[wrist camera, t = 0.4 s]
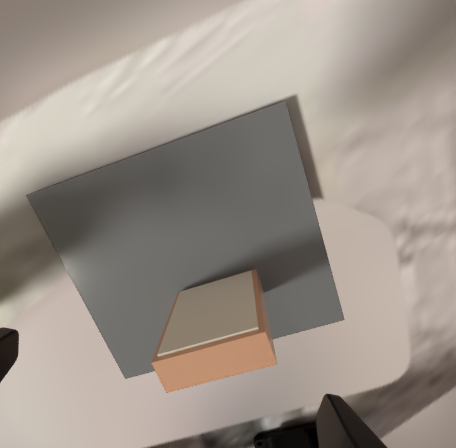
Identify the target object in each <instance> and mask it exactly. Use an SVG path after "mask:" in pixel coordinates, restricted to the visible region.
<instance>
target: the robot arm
mask: <svg viewBox="0 0 456 448" xmlns="http://www.w3.org/2000/svg"><path fill="white" fill-rule="evenodd" d="M18 341H19V334H18V331H17V330H14V329H9V328H0V382H1V381H2V379H3V378H4V377H5V375H6V374H7V373H8V371H9V370H10V368H11V367H12V366H13V365H14V363H15V361H16V359H17V357H18V344H19V343H18ZM254 446H255V448H387V447H386V446H385V445H384V444H383V442H382V441H381V440H380V439H379V438H378V437H377V436H376V435H375V434H374V433H373V432H372V430H371V429H370V428H369V427H368V426H367V425H366V424H365V423H364V422H363V421H362V420H361V418H360V417H359V416H358V415H357V414H356V413H355V412H354V411H353V410H352V409H351V408H350V406H349V405H348V404H347V403H346V402H345V401H344V400H343V399H342V398H341V397H340V396H337V395H332V394H326V395H324V397H323V400H322V402H321V405H320V408H319V410H318V413H317V417H316V422H314V423H310V424H305V425H301V426H297V427H293V428H288V429H284V430H280V431H275V432H271V433H267V434H262V435H258V436H255V437H254Z"/></svg>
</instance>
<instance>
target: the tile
mask: <svg viewBox="0 0 456 448" xmlns="http://www.w3.org/2000/svg"><path fill="white" fill-rule="evenodd" d="M276 364H277V361H276V356H275V350H274V345H273V339H272V333H271V328H270V322H269V317H268V311H267V306H266V300H265V295H264V291H263V288H262V285H261V282H260V279H259V276H258V274H257V271H256V269H254V270H251V271H247V272H244V273H241V274H237V275H234V276H231V277H227V278H224V279H221V280H217V281H214V282H211V283H207V284H204V285H201V286H197V287H194V288H191V289H187V290H184V291H181V292H178V293H177V296H176V298H175V301H174V304H173V306H172V309H171V312H170V314H169V317H168V320H167V322H166V325H165V328H164V330H163V333H162V336H161V338H160V341H159V344H158V347H157V349H156V352H155V355H154V357H153V360H152V365H153V367H154V369H155V371H156V373H157V375H158V377H159V379H160V381H161V383H162V385H163V387H164V389H165V391H166V393H168V392H172V391H176V390H180V389H184V388H187V387H191V386H195V385H199V384H203V383H207V382H210V381H214V380H218V379H222V378H226V377H230V376H234V375H238V374H242V373H245V372H249V371H253V370H257V369H261V368H265V367H269V366H273V365H276Z"/></svg>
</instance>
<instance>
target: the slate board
mask: <svg viewBox="0 0 456 448" xmlns="http://www.w3.org/2000/svg"><path fill="white" fill-rule="evenodd" d="M26 196H27V198H28V200H29V201H30V203H31V205H32V207H33V209H34V211H35V213H36V214H37V216H38V218H39V220H40V222H41V224H42V225H43V227H44V229H45V231H46V233H47V235H48V237H49V238H50V240H51V242H52V244H53V246H54V248H55V250H56V251H57V253H58V255H59V257H60V259H61V261H62V263H63V264H64V266H65V268H66V270H67V272H68V274H69V275H70V277H71V279H72V281H73V283H74V285H75V286H76V288H77V290H78V292H79V294H80V296H81V297H82V300H83V301H84V303H85V305H86V307H87V309H88V310H89V312H90V314H91V316H92V318H93V320H94V322H95V324H96V325H97V327H98V329H99V331H100V333H101V335H102V337H103V338H104V340H105V342H106V344H107V346H108V348H109V349H110V351H111V353H112V355H113V357H114V359H115V361H116V363H117V364H118V366H119V368H120V370H121V372H122V374H123V375H124V377H125V378H126V379H127V378H130V377H134V376H138V375H142V374H145V373H149V372H152V371H155V369H154V367H153V365H152V360H153V357H154V355H155V352H156V349H157V347H158V344H159V341H160V338H161V336H162V333H163V330H164V328H165V325H166V322H167V320H168V317H169V314H170V312H171V309H172V306H173V304H174V301H175V298H176V296H177V293H178V292H181V291H184V290H187V289H191V288H194V287H197V286H201V285H204V284H207V283H211V282H214V281H217V280H221V279H224V278H227V277H231V276H234V275H237V274H241V273H244V272H247V271H251V270H254V269H256V271H257V274H258V276H259V279H260V282H261V285H262V288H263V291H264V295H265V300H266V306H267V311H268V317H269V322H270V328H271V333H272V339H275V338H279V337H282V336H286V335H290V334H294V333H298V332H301V331H305V330H309V329H312V328H316V327H320V326H324V325H327V324H331V323H335V322H338V321H342V320H344V316H343V312H342V309H341V305H340V301H339V298H338V294H337V291H336V287H335V283H334V279H333V275H332V272H331V268H330V264H329V261H328V257H327V253H326V249H325V245H324V242H323V238H322V234H321V231H320V227H319V223H318V219H317V216H316V212H315V208H314V204H313V201H312V197H311V193H310V190H309V186H308V182H307V178H306V175H305V171H304V167H303V164H302V160H301V156H300V152H299V149H298V145H297V141H296V138H295V134H294V130H293V126H292V123H291V119H290V115H289V111H288V108H287V104H286V101H283V102H280V103H277V104H275V105H272V106H269V107H267V108H264V109H261V110H258V111H256V112H253V113H250V114H247V115H245V116H242V117H239V118H236V119H234V120H231V121H228V122H225V123H223V124H220V125H217V126H214V127H212V128H209V129H206V130H203V131H201V132H198V133H195V134H193V135H190V136H187V137H184V138H182V139H179V140H176V141H173V142H171V143H168V144H165V145H162V146H160V147H157V148H154V149H151V150H149V151H146V152H143V153H140V154H138V155H135V156H132V157H130V158H127V159H124V160H121V161H119V162H116V163H113V164H110V165H108V166H105V167H102V168H99V169H97V170H94V171H91V172H88V173H86V174H83V175H80V176H77V177H75V178H72V179H69V180H67V181H64V182H61V183H58V184H56V185H53V186H50V187H47V188H45V189H42V190H39V191H36V192H34V193H31V194H28V195H26Z"/></svg>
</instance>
